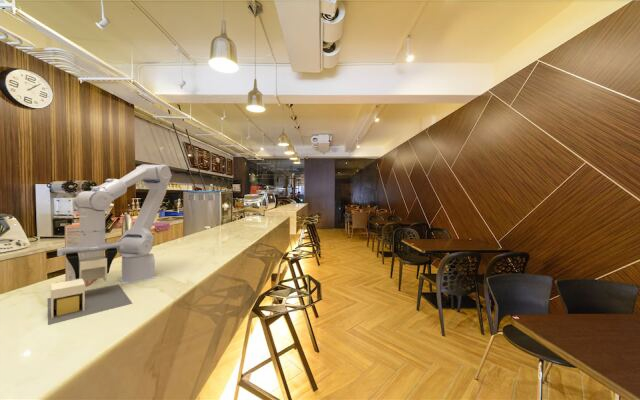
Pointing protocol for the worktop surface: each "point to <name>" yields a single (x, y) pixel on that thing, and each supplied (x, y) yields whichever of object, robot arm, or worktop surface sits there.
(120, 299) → the mat
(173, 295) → the worktop surface
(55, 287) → the box
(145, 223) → the robot arm
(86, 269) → the box
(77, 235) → the cracker box
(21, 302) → the worktop surface
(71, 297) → the cube
